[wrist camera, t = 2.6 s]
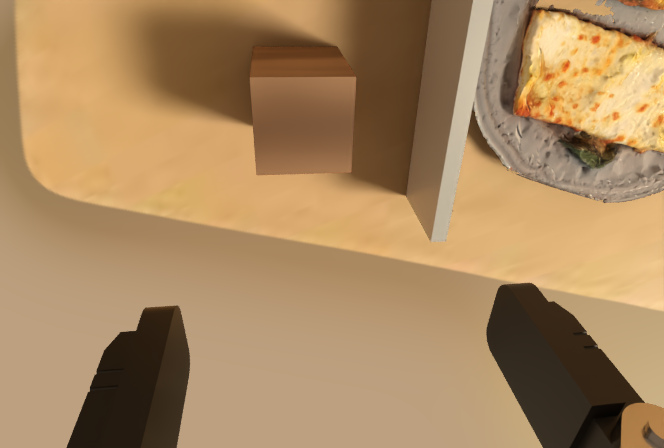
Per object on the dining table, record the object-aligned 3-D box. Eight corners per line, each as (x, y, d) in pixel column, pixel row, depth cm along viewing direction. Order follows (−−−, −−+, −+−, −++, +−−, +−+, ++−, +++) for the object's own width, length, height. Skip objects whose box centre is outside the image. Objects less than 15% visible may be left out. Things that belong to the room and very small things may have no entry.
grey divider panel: (451, -152, 23) (504, -178, 18) (470, -151, 23) (528, -176, 18) (405, 196, 33) (430, 242, 28) (418, 195, 33) (445, 241, 28)
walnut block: (253, 46, 27) (249, 77, 21) (337, 46, 27) (356, 76, 21) (258, 127, 29) (256, 175, 23) (334, 126, 30) (351, 172, 24)
